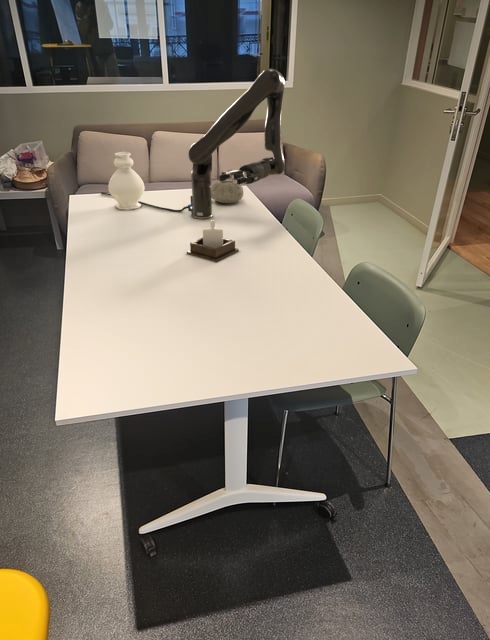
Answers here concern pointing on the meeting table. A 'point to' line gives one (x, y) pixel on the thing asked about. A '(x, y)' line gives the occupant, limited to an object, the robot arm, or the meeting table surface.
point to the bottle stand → (212, 250)
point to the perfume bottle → (213, 236)
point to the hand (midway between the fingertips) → (228, 180)
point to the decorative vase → (126, 183)
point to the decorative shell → (227, 191)
